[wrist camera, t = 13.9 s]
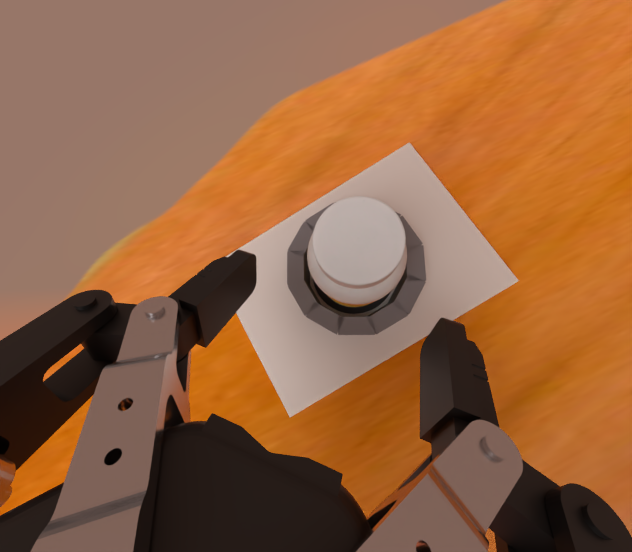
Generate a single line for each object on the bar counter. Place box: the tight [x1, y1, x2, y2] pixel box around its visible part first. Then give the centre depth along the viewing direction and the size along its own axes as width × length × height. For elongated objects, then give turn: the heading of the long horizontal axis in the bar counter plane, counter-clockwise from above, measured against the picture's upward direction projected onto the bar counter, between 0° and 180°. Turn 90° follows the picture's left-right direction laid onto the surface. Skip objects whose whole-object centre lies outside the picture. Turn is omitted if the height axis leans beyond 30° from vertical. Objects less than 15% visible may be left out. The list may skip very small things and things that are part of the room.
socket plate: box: [226, 143, 519, 417], centre depth 19 cm, size 20×14×4 cm
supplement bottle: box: [307, 196, 407, 308], centre depth 15 cm, size 5×5×10 cm
